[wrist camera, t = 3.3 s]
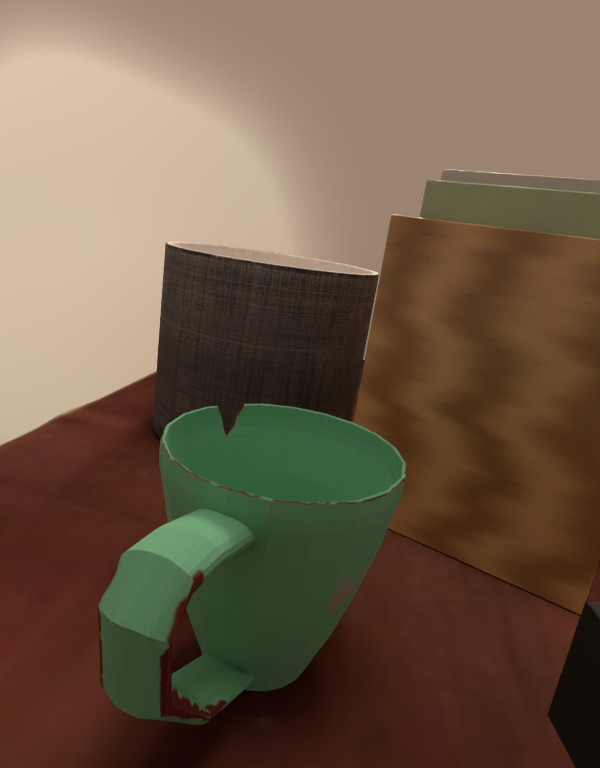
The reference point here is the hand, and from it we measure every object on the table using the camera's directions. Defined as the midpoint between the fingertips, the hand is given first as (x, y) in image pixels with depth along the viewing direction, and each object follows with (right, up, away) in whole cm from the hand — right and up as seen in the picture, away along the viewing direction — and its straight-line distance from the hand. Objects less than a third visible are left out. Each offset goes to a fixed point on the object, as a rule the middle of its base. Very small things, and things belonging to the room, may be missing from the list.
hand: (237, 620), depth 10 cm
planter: (-3, 0, +40) cm, 40 cm away
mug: (-2, -8, +12) cm, 15 cm away
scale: (+18, +14, +27) cm, 35 cm away
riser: (+15, -5, +32) cm, 36 cm away
